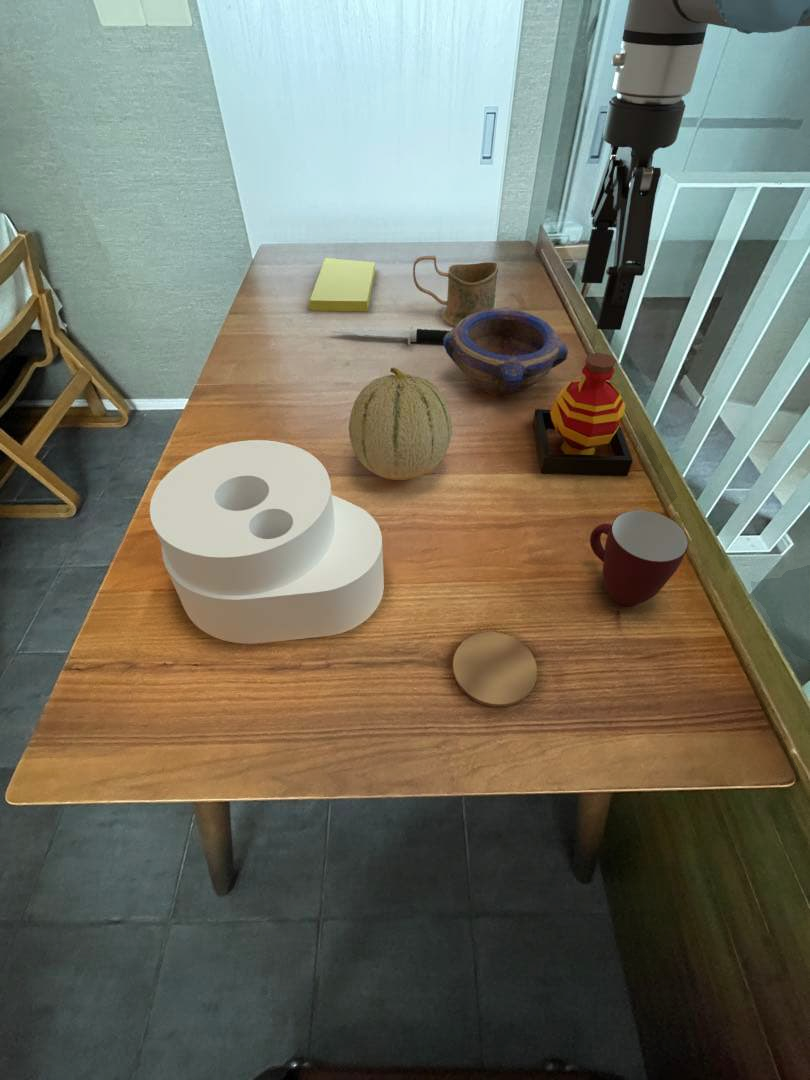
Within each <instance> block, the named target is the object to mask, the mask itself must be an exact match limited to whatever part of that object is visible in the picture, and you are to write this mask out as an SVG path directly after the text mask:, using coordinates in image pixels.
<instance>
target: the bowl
mask: <svg viewBox="0 0 810 1080" xmlns="http://www.w3.org/2000/svg"><path fill="white" fill-rule="evenodd" d="M448 331H449V332H448V333H447V334H446V335H445V336H444V339H443V342H444V344H443V348H444V350H445V353H446V354H447V356H448V358H450V359H451V360H452V362H453V363H454V364H455V365H456V366H457V367H458V369H459V371H460V372H461V373H462V375H463V376H464V377H465V379H467V381H469V383H471V384H472V385H474V386H475V387H477V388H479V389H481V390H482V391H484V392H486V393H489V394H494V395H506V394H509V393H514V392H518V391H521V390H525V389H527V388H531V387H533V386H534V385H537V384H538V383H540V381H542V380H544V378H546V377H547V375H548V374H549V373H550V371H551V370H552V369H553V368H555V367H557V366H559V365H561V364H562V363H563V362H565V361H566V360H567V358H568V354H569V350H568V347H567V345H566V343H565V342H564V341H563V340H562V338H561V337H560V336H559V335H558V333H557V332H556V330H555V329H554V328H553V326H551V325H550V323H548V322H547V321H545V320H544V319H542V318H541V317H539V316H537V315H534V314H532V313H530V312H526V311H522V310H518V309H514V308H511V307H509V306H505V307H504V306H503V307H498V308H493V309H491V310H484V311H480V312H477V313H474V314H471V315H469V316H467V317H466V318H464V319H463V320H461V321H460V322H459V323H458V325H457V326H456V327H453V328H452V329H450V330H448Z"/></svg>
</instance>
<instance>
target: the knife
mask: <svg viewBox="0 0 810 1080" xmlns="http://www.w3.org/2000/svg"><path fill="white" fill-rule="evenodd" d="M449 331H450V330H445V329H442V330H441V329H427V328H424V329H422V328H413V324H409V329H408V330H387V329H369V328H343V329H336V330H330V331H329V333H336V334H344V335H351V336H360V337H367V338H384V339H386V338H387V339H403V340H407V346H410V345H411V343H425V344H426V343H427V344H428V343H429V344H443V345H444V342H443V339H444V336H445V335H446V334H447V333H448V332H449Z"/></svg>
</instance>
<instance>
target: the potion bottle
mask: <svg viewBox="0 0 810 1080" xmlns="http://www.w3.org/2000/svg"><path fill="white" fill-rule="evenodd" d="M616 363H617V359H615V357H614V356H613V355H611V354H607V353H603V352H593V353H589V354H587V357H586V358H585V364H584V366H583V367H582V369H581V373H582V374H583V375H584V376H582V377H581V379H580V380H571V381H570V382H569V383H567V384H566V385H565V386H564V387H563V388H562V389H561V391H560V392H559V394H558V395H557V397H556V399H555V400H554V402H553V405H552V407H551V409H550V410H551V411H550V414H551V419H552V422H553V425H554V426H555V429H554V430H555V432H556V433H558V434H559V436H560V437H561V438H562V440H563V441H564V442H563V443H562V445H561V446H560V449H561V451H562V452H563V454H573V455H595V453H596V447H599V446H602V445H606V444H607V445H608V444H610V441H611V439H612V437H613V436H614V434H615V433H616V431H617V429H618V428H619V426H621V424H619V423H621V421H622V419H623V418H624V415H625V410H626V408H627V407H626V403H625V401H624V400H623V396H622V394H621V393H620V392H619V390H618V389H617V388H616V387H615V386H614V385H613V383H611V379H612V378H613V376H614V374H615V373H616V370H615V367H614V366H615V365H616ZM614 431H615V432H614Z"/></svg>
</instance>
